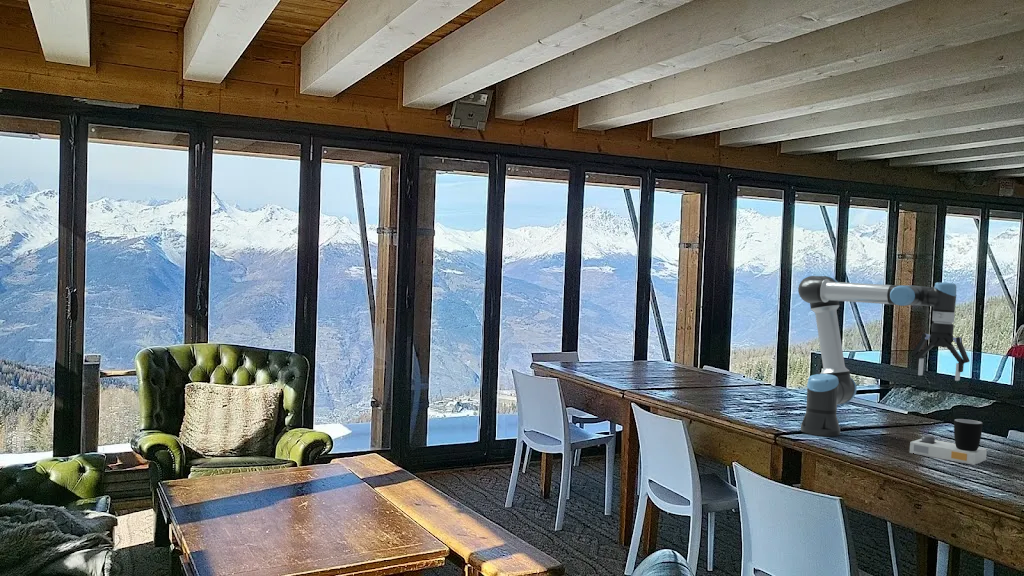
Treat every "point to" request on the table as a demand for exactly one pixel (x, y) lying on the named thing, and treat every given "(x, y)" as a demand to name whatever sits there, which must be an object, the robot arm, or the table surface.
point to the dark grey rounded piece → (928, 439)
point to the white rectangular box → (947, 452)
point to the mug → (967, 434)
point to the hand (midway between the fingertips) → (938, 377)
